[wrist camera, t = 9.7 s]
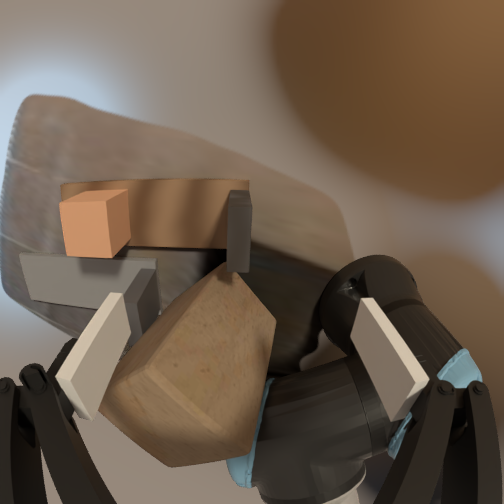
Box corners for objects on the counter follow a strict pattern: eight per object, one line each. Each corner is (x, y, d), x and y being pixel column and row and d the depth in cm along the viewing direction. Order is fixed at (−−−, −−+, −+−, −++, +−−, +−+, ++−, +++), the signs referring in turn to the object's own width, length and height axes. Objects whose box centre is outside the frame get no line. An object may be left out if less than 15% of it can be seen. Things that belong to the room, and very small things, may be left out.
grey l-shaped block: (157, 258, 34) (135, 295, 26) (162, 310, 37) (146, 354, 29) (22, 252, 33) (-12, 278, 24) (34, 296, 36) (6, 326, 27)
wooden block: (220, 352, 38) (169, 469, 19) (172, 300, 37) (85, 400, 18) (278, 320, 35) (252, 456, 16) (227, 258, 33) (146, 367, 15)
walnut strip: (248, 180, 31) (253, 195, 23) (245, 246, 34) (248, 282, 26) (64, 183, 30) (22, 200, 21) (71, 241, 33) (35, 269, 24)
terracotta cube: (127, 189, 30) (105, 200, 24) (131, 238, 32) (112, 258, 26) (85, 191, 29) (59, 202, 24) (90, 237, 32) (67, 256, 26)
